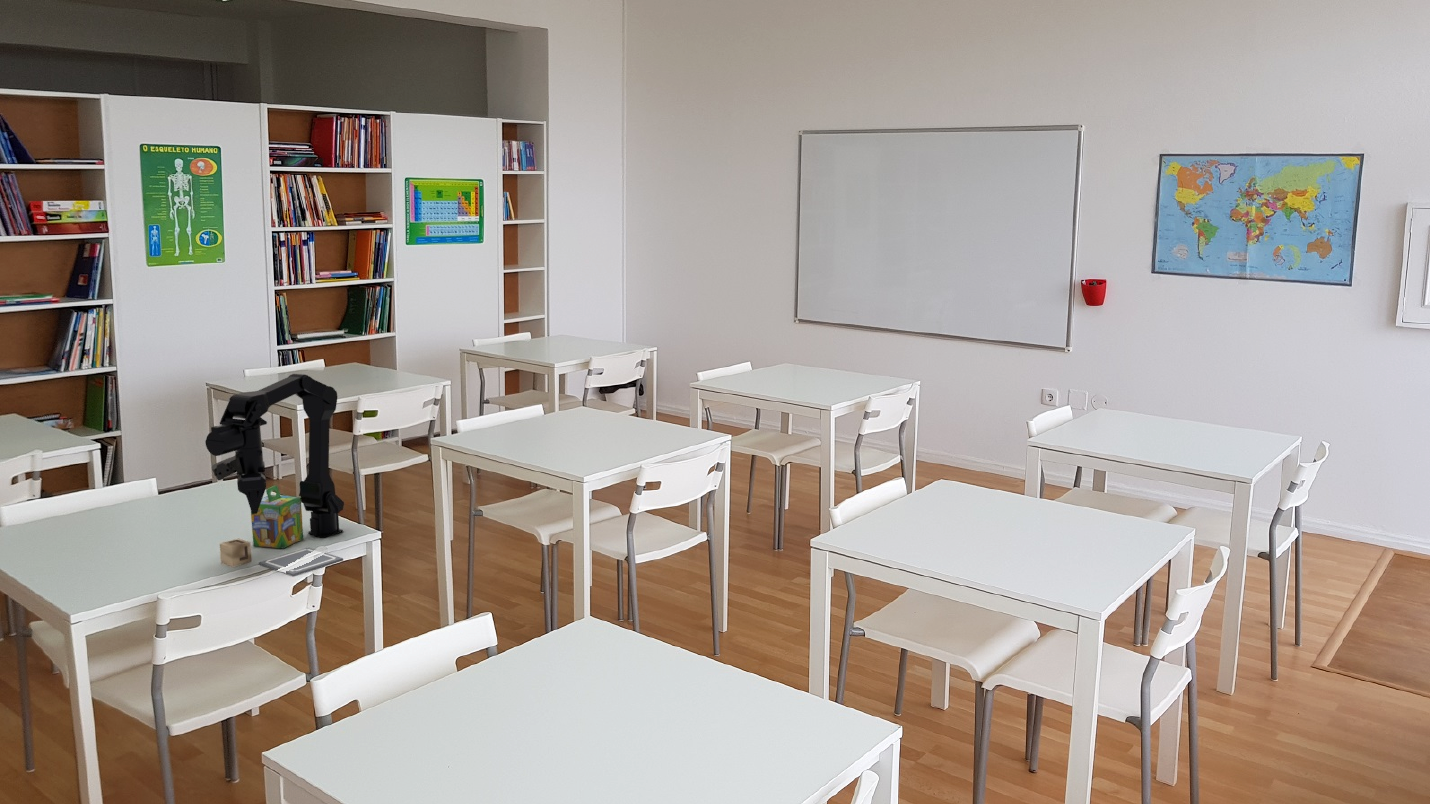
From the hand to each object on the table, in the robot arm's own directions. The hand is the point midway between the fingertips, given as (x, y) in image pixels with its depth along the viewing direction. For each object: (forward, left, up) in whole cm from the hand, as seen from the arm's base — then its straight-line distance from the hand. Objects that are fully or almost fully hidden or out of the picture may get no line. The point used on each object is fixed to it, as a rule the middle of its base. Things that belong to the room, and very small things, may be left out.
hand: (254, 508), depth 269 cm
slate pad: (-5, +10, -13) cm, 17 cm away
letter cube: (+4, -3, -13) cm, 14 cm away
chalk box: (-11, -8, -14) cm, 20 cm away
